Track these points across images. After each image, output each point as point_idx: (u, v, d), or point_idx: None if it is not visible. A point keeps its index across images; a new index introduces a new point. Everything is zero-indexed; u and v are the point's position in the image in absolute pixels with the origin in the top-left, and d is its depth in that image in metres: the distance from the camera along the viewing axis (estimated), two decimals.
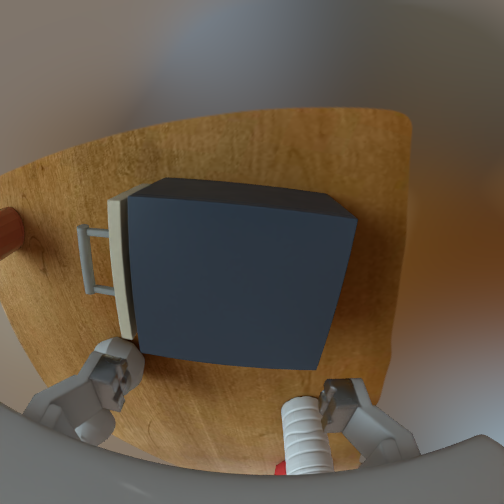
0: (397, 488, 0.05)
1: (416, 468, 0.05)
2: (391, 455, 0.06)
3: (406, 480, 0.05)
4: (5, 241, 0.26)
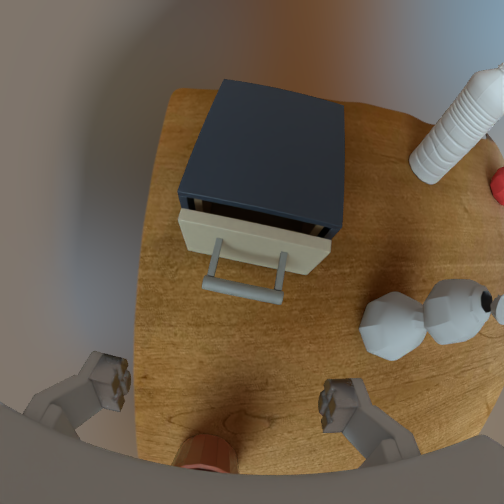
0: (397, 488, 0.05)
1: (416, 468, 0.05)
2: (391, 455, 0.06)
3: (406, 480, 0.05)
4: (211, 447, 0.22)
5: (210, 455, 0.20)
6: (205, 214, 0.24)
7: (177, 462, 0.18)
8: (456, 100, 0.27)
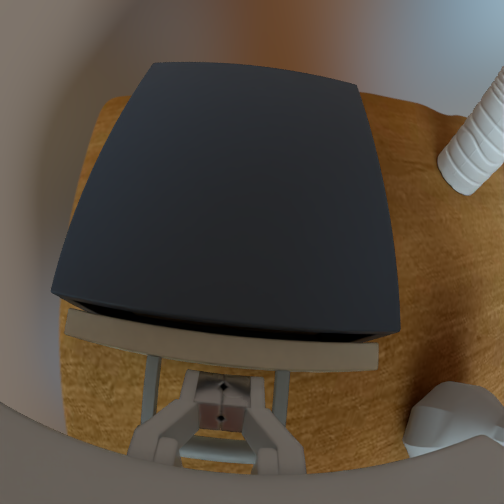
0: (397, 488, 0.05)
1: (416, 468, 0.05)
2: (266, 467, 0.06)
3: (406, 480, 0.05)
4: None
5: None
6: (110, 321, 0.10)
7: None
8: (501, 76, 0.14)
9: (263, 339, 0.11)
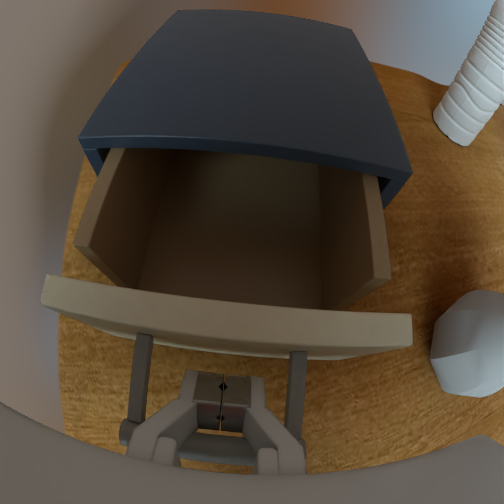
0: (397, 488, 0.05)
1: (416, 468, 0.05)
2: (266, 467, 0.06)
3: (406, 480, 0.05)
4: None
5: None
6: (92, 287, 0.09)
7: None
8: (482, 32, 0.15)
9: (278, 307, 0.09)
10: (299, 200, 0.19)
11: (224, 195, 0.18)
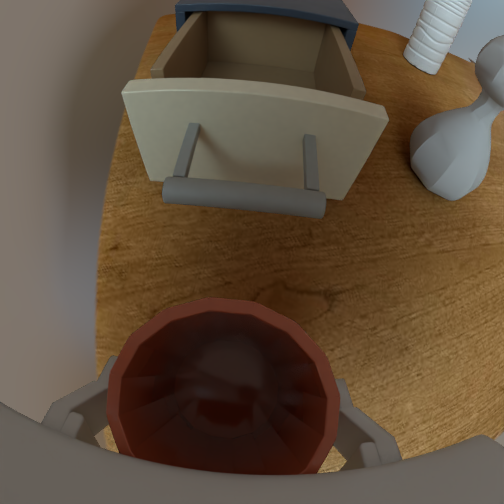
0: (397, 488, 0.05)
1: (416, 468, 0.05)
2: (370, 459, 0.06)
3: (406, 480, 0.05)
4: None
5: None
6: (167, 79, 0.12)
7: None
8: None
9: (292, 86, 0.12)
10: None
11: None
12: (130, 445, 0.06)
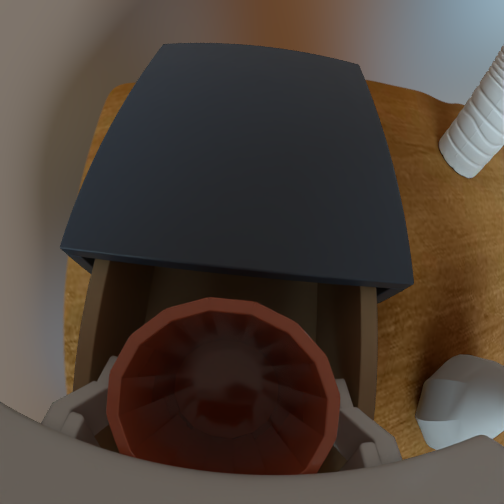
0: (397, 488, 0.05)
1: (416, 468, 0.05)
2: (370, 459, 0.06)
3: (406, 480, 0.05)
4: None
5: None
6: None
7: None
8: (498, 60, 0.14)
9: None
10: None
11: None
12: (130, 445, 0.06)
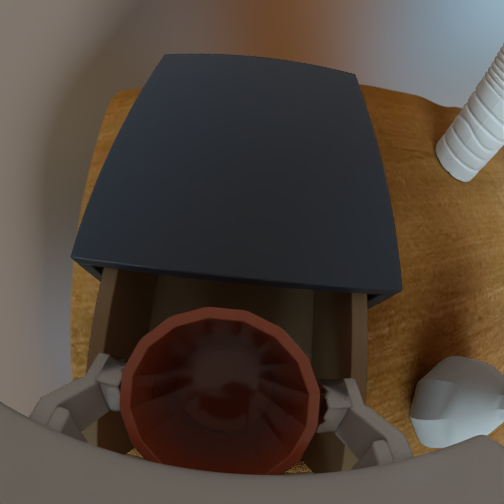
0: (397, 488, 0.05)
1: (416, 468, 0.05)
2: (383, 457, 0.06)
3: (406, 480, 0.05)
4: None
5: None
6: None
7: None
8: (494, 66, 0.15)
9: None
10: None
11: None
12: (140, 434, 0.07)
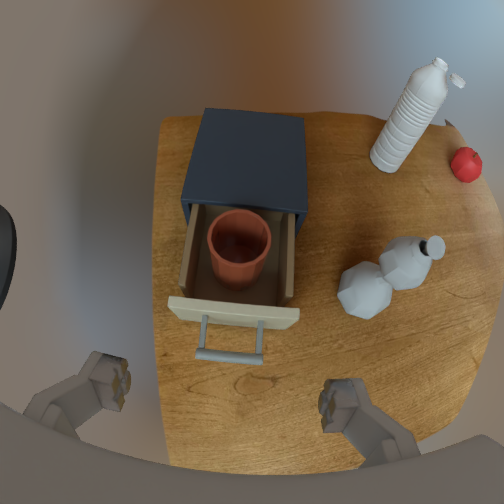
0: (397, 488, 0.05)
1: (416, 468, 0.05)
2: (391, 455, 0.06)
3: (406, 480, 0.05)
4: None
5: None
6: (190, 299, 0.28)
7: None
8: (400, 97, 0.36)
9: (251, 304, 0.29)
10: None
11: None
12: (213, 247, 0.28)
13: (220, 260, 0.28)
